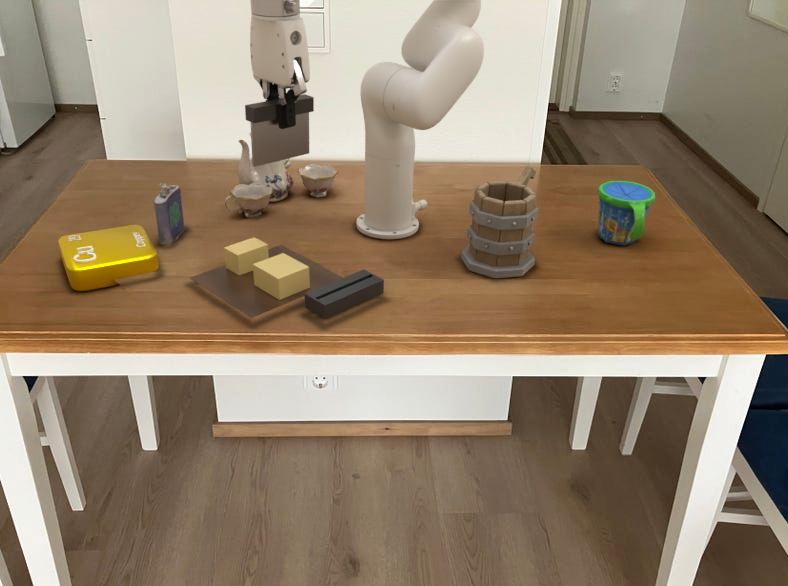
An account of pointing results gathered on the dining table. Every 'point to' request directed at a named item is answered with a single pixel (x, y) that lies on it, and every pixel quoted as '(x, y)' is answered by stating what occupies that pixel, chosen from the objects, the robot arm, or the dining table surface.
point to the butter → (281, 276)
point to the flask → (169, 214)
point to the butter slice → (245, 255)
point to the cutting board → (252, 297)
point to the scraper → (278, 131)
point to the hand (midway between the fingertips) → (281, 124)
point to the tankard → (502, 228)
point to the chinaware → (274, 182)
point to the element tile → (106, 256)
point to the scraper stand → (344, 293)
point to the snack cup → (623, 211)
